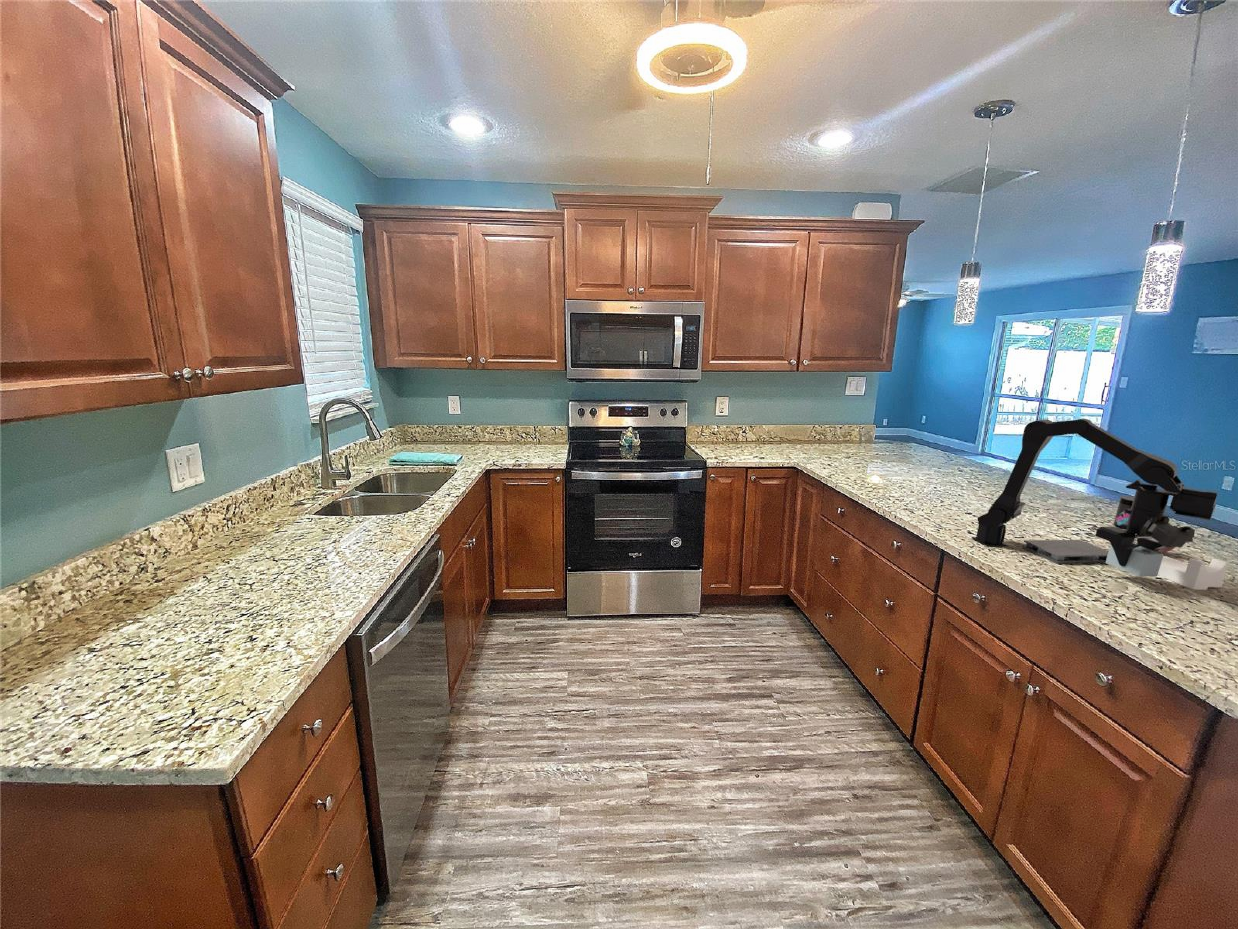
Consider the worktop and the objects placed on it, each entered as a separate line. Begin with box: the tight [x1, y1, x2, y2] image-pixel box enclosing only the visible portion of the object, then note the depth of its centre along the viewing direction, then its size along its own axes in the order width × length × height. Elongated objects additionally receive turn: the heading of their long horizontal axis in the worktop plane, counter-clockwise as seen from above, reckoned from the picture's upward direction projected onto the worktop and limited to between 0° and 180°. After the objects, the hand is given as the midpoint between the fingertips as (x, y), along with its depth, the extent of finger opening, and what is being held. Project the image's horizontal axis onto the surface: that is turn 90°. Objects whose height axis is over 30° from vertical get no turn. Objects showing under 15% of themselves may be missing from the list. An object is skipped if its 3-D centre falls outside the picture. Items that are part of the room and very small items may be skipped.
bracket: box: [1157, 555, 1230, 591], centre depth 127 cm, size 13×7×8 cm, turn 1°
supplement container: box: [1113, 495, 1134, 531], centre depth 163 cm, size 7×7×10 cm
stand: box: [1021, 539, 1109, 565], centre depth 141 cm, size 18×11×2 cm, turn 94°
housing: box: [1105, 544, 1165, 578], centre depth 124 cm, size 5×8×6 cm, turn 4°
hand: (1131, 565), depth 125 cm, fingers closed on housing, 5 cm apart
